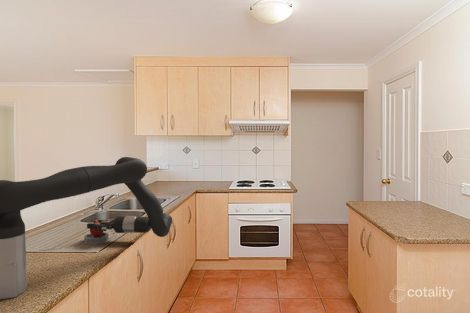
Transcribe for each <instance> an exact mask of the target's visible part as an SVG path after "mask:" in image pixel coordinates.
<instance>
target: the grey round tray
mask: <svg viewBox="0 0 470 313" xmlns="http://www.w3.org/2000/svg"><path fill="white" fill-rule="evenodd" d="M109 240H110V237H109V232H106V231H103V233H102V234H101V235H100V236H99V237H97V238H96V237H95V236H93V235H92V234H91V233H90V232H89V233H87V234H86V235H84V236H83V243H84V244H86V245H98V244H105V243H106V241H107V242H108V241H109Z"/></svg>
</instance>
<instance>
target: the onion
mask: <svg viewBox="0 0 470 313" xmlns="http://www.w3.org/2000/svg"><path fill="white" fill-rule="evenodd" d="M97 220H98V219H95V220H94V221H95V222H94V221H93V223H100V222H98V221H97ZM103 232H104V231H95V230H94V229H89V234H90V233H91V234H92V235H93V236H95V237H96V238H97V237H99V236H100V235H101V234H102V233H103Z"/></svg>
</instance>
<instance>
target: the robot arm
mask: <svg viewBox="0 0 470 313" xmlns="http://www.w3.org/2000/svg"><path fill="white" fill-rule="evenodd" d="M147 171H148V166H147V164H146V163H145V162H144V161H143V160H141V159H140V158H136V157H131V156H123V157H120V158H119V159H118V160H117V161H116V163H115V164H113V165H86V166H79V167H78V166H77V167H73V168H68V169H65V170H61V171H58V172H56V173H54V174H51V175H49V176H46V177H43V178H37V179H30V180H25V181H24V180H22V181H12V180H6V179H1V180H0V300H5V299H11V298H16V297H18V296H19V295H20V294H23V293H24V292H26V291H27V289H28V284H27V283H28V282H27V281H28V278H27V275H28V274H27V246H26V243H27V242H26V225H25V222H24V220H23V218H22V215H21V214H22V212H21V211H23V210H26V209H28V208H32V207H33V206H34V207H35V206H37V205H39V204H42V203H43V204H44V203H47V202H51V201H55V200H61V199H66V198H71V197H76V196H80V195H85V194H88V193H91V192H95V191H99V190H102V189H104V188H109V187H112V186H115V185H121V184H125V186H126V187H127V188H128V189H129V191H130V192H131V193H132V194H133V196H134V197H135V198H136V199H137V201H138V203H139V204H140V206H141V208H142V209H143V211H144V212H145V214H146V216H135V215H116V217H114V218H111V217H110V218H108V217H107V218H106V219H105V218H103V219H96V220H97V221H98V222H100V223H94V222H95V220H93V222H91V223H90V222H89V223H87V224H86V227H87V229H89V230H90V229H94V230H95V231H103V232H106V231H107V230H108V231H110V230H114V232H115V233H117V234H134V233H136V234H137V233H138V234H140V233H141V234H142V233H143V234H145V233H149V232H150V231H151V230H152V232H153V234H154V235H155V236H156V237H160V238H164V237H166V236H167V235H169V232H170V230H171V227H172V225H173V218H172V216H171V215H170V214H169V213H164V208H163V206H162V204H161V203H160V200H159V199H158V198H157V196H156V195H155V194H154V193H153V192H152V190H150V188H148V187H147V186H146V184H145V183H144V182H143V181H142V179H143V178H145V176H146V175H147Z"/></svg>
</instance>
